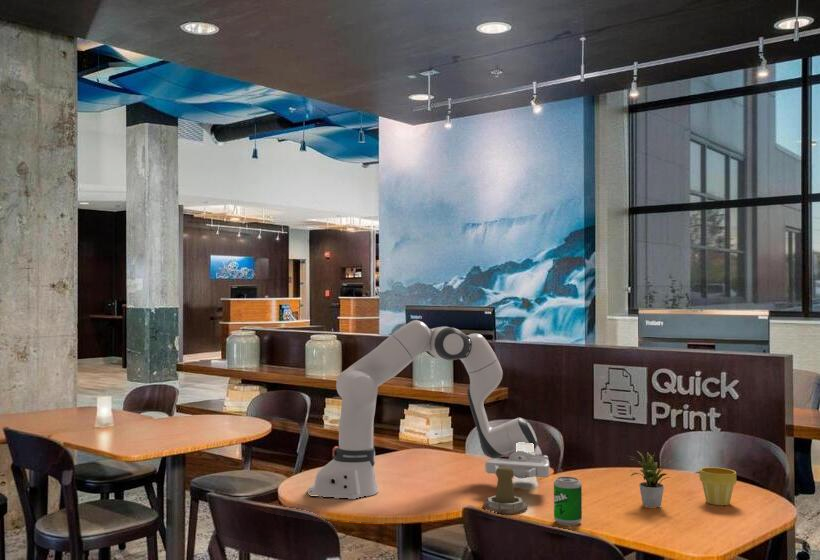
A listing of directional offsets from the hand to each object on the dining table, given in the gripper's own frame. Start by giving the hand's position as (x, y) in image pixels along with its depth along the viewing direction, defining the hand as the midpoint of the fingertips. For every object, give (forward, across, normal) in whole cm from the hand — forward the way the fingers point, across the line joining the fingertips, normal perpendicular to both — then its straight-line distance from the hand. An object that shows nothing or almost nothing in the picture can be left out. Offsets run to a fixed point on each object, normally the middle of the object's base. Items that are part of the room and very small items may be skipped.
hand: (512, 473), depth 234 cm
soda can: (+18, +19, +9) cm, 28 cm away
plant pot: (-19, +59, +9) cm, 63 cm away
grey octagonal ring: (+9, 0, +8) cm, 12 cm away
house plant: (-9, +39, +9) cm, 41 cm away
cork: (+9, 0, +7) cm, 12 cm away
